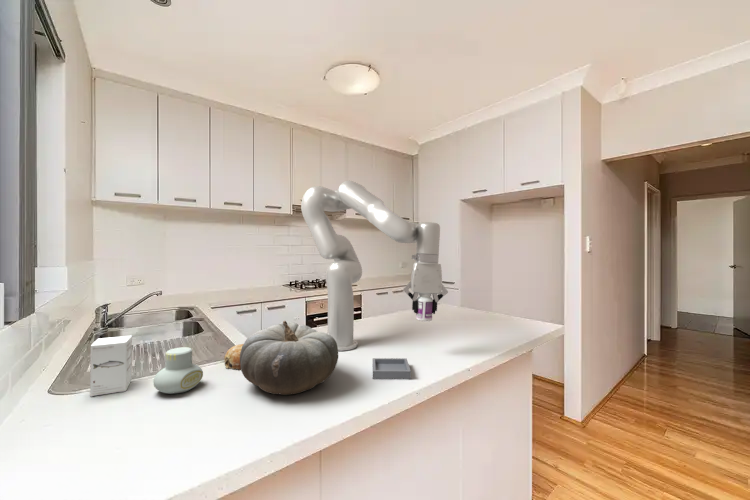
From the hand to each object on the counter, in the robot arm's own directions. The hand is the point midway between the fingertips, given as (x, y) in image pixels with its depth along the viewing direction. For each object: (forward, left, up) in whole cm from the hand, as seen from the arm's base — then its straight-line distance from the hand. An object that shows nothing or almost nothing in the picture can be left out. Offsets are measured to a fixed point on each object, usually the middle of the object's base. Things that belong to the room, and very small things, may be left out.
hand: (424, 312), depth 112 cm
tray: (-12, -14, -15) cm, 24 cm away
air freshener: (-67, -26, -15) cm, 74 cm away
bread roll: (-58, -8, -15) cm, 61 cm away
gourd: (-39, -22, -15) cm, 48 cm away
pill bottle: (0, 0, -3) cm, 3 cm away
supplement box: (-84, -26, -15) cm, 89 cm away
